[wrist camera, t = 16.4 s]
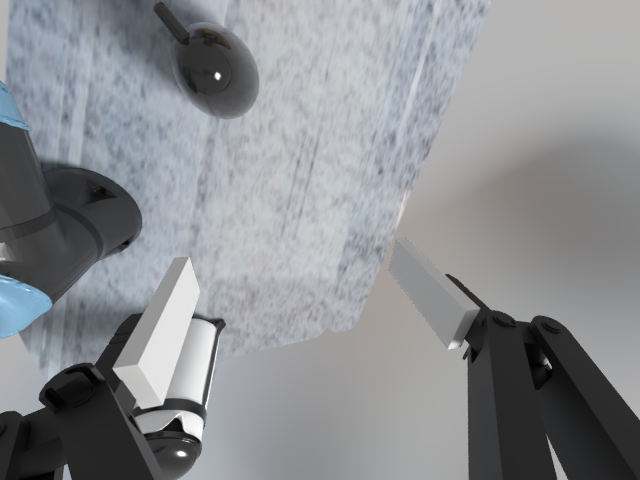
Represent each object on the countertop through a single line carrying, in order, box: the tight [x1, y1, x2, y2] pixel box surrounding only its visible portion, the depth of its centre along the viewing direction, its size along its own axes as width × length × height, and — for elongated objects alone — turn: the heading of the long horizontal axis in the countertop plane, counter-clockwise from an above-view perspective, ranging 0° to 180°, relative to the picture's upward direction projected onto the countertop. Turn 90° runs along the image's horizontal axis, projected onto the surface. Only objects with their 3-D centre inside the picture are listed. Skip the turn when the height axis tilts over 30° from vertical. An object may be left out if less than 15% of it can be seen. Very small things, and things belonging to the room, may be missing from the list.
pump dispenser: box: [153, 1, 259, 119], centre depth 28 cm, size 10×10×15 cm
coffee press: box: [132, 319, 226, 480], centre depth 46 cm, size 17×16×30 cm
